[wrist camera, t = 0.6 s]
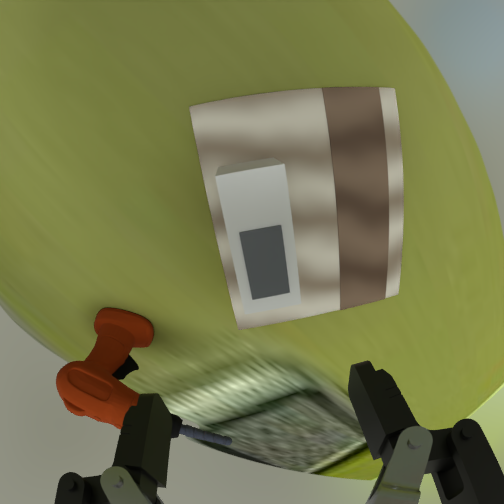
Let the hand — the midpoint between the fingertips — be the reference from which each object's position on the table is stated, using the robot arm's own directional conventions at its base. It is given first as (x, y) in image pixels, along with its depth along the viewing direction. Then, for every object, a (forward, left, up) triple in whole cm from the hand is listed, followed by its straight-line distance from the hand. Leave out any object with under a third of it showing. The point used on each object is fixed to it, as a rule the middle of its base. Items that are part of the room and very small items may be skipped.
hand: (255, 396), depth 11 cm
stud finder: (-1, +2, -19) cm, 19 cm away
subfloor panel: (-1, +8, -20) cm, 21 cm away
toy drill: (+11, -12, -20) cm, 26 cm away
